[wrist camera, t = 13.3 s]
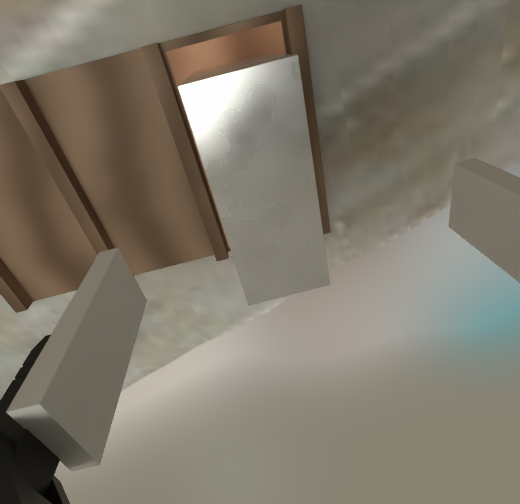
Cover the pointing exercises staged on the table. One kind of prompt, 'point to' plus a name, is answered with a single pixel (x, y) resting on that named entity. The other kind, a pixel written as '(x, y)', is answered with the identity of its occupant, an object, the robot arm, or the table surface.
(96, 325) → the robot arm
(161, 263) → the rack
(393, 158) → the table surface
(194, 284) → the table surface
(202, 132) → the gray rectangular block
